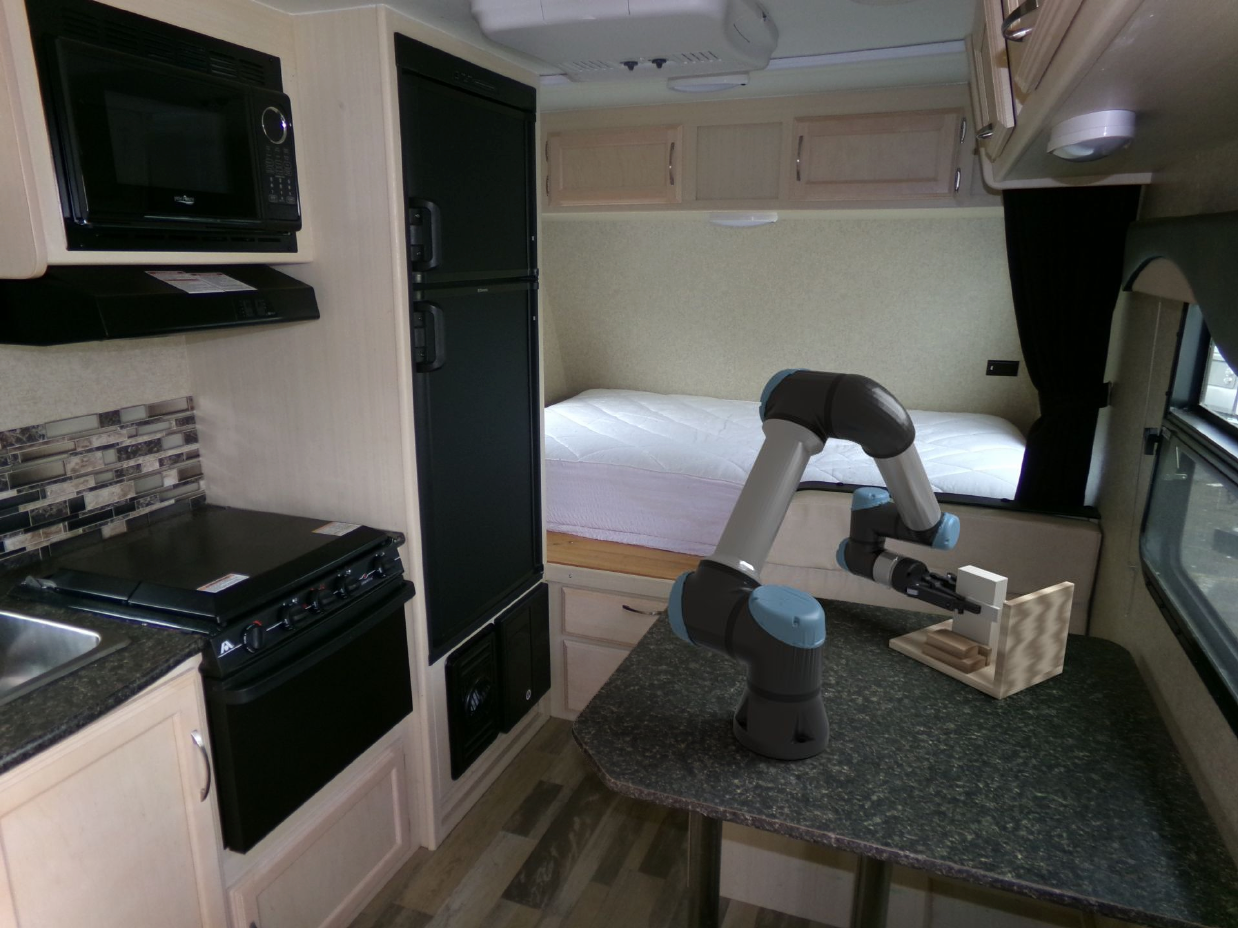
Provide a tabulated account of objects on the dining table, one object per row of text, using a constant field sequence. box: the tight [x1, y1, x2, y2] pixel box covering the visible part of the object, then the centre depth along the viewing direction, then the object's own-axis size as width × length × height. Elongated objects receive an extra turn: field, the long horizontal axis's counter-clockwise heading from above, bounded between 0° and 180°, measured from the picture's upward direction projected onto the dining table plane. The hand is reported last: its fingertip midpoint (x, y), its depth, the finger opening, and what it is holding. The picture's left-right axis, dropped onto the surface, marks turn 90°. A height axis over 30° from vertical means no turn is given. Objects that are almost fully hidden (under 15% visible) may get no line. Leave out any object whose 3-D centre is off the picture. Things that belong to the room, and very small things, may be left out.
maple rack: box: [888, 581, 1076, 700], centre depth 156 cm, size 19×24×18 cm
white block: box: [951, 565, 1009, 661], centre depth 156 cm, size 4×8×16 cm, turn 32°
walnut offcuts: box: [922, 629, 986, 674], centre depth 154 cm, size 5×10×4 cm, turn 32°
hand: (1005, 613), depth 151 cm, fingers closed on white block, 3 cm apart
